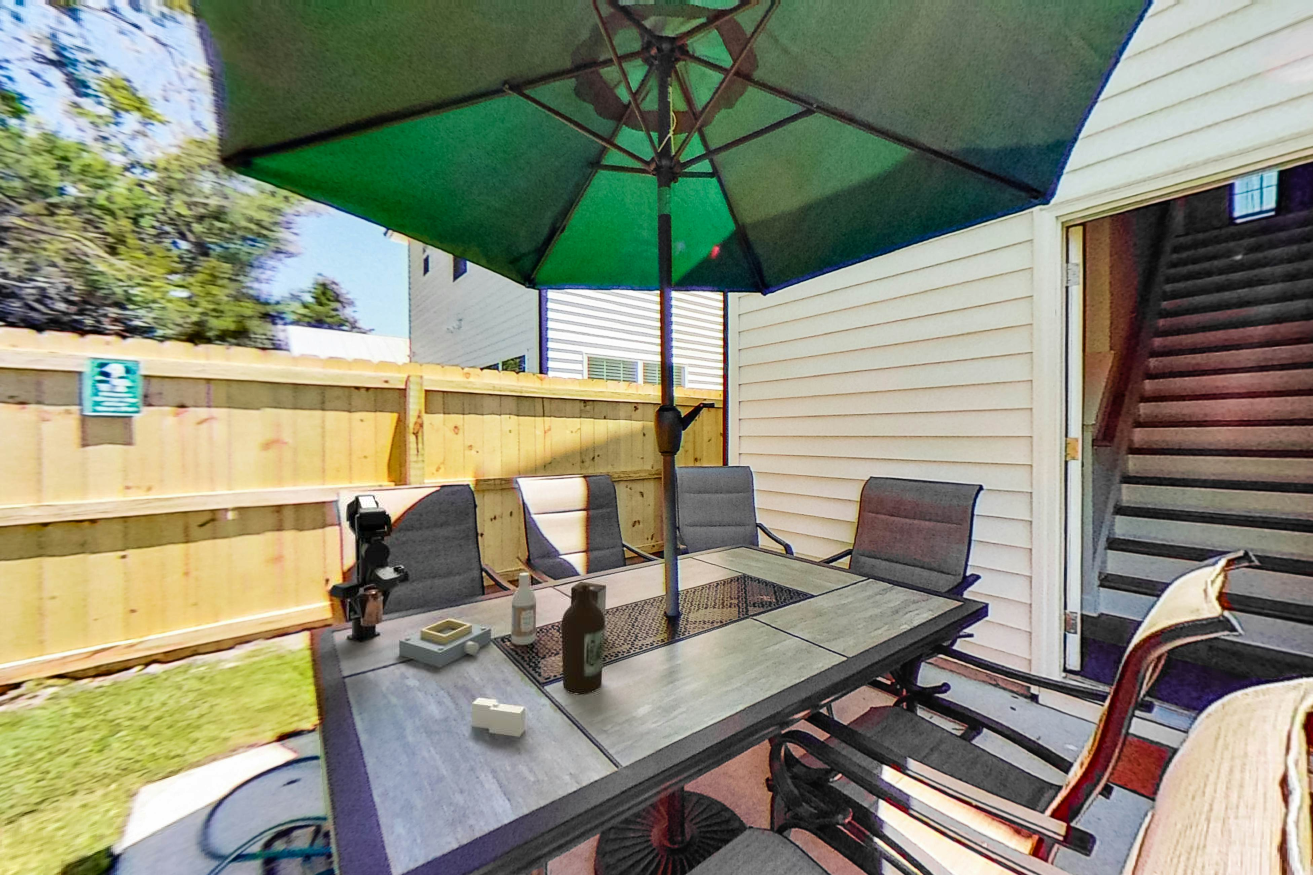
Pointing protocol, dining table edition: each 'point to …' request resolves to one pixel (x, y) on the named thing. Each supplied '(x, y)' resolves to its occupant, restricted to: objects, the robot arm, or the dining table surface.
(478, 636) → the grey plate with frame
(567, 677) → the olive oil
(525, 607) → the bath foam
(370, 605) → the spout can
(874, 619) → the dining table surface
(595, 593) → the coffee box
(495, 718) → the white stepped block
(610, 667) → the dining table surface
